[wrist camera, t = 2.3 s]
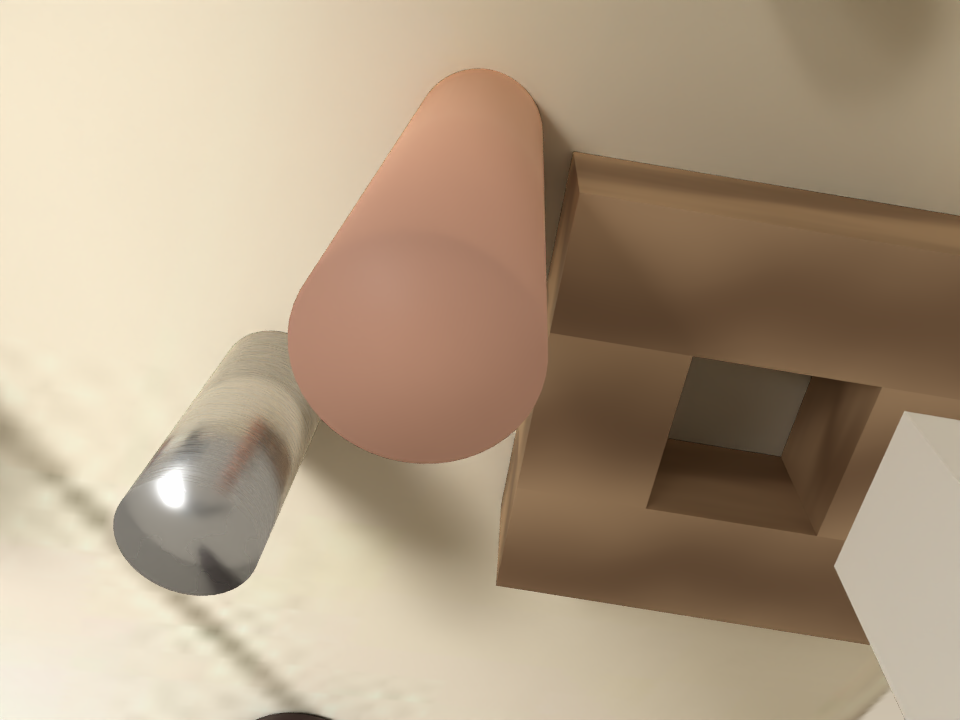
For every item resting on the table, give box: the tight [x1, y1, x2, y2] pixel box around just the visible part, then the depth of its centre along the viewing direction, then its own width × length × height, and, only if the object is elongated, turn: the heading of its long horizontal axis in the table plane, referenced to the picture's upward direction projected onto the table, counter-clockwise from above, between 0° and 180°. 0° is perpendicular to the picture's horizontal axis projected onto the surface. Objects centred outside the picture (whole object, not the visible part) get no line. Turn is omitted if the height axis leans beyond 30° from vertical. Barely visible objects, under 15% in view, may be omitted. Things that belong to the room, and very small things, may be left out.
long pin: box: [288, 69, 548, 464], centre depth 19 cm, size 4×4×15 cm
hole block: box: [496, 152, 960, 645], centre depth 27 cm, size 14×14×4 cm
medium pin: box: [113, 331, 320, 596], centre depth 27 cm, size 4×4×9 cm
